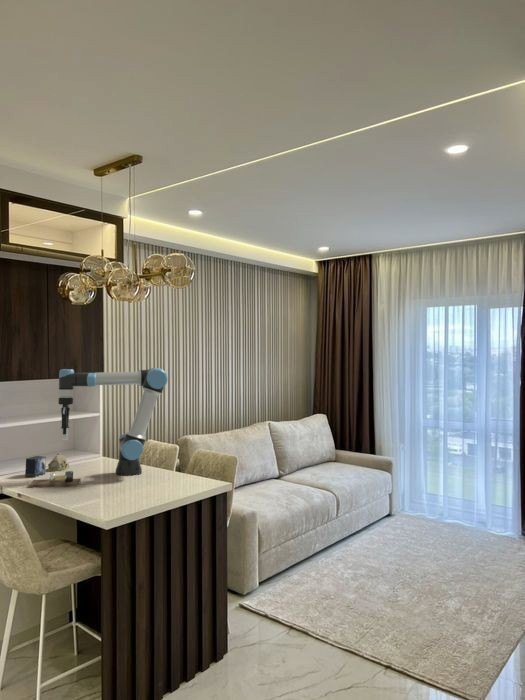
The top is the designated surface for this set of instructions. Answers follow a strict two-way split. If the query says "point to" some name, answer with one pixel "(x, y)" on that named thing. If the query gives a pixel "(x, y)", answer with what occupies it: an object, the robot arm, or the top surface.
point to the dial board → (54, 483)
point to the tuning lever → (62, 476)
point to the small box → (35, 466)
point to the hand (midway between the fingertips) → (64, 440)
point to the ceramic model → (58, 463)
